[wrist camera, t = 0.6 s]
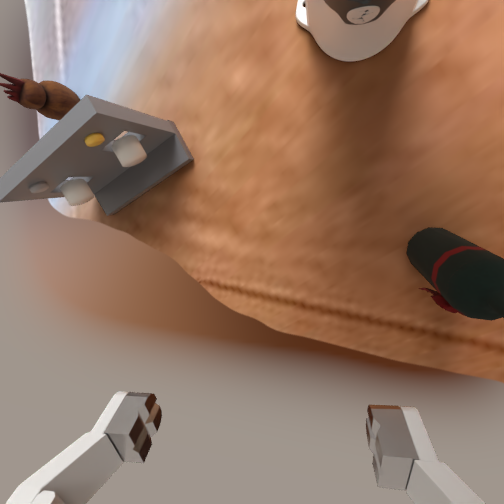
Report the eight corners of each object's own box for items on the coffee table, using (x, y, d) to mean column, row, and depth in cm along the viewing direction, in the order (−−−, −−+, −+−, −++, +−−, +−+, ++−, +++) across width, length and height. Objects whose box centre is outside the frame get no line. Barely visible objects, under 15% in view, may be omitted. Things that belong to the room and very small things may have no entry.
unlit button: (99, 193, 52) (79, 195, 48) (84, 204, 54) (64, 206, 50) (90, 178, 52) (69, 178, 48) (75, 189, 54) (54, 191, 50)
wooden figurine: (74, 82, 57) (-8, 53, 43) (91, 106, 58) (15, 84, 44) (57, 105, 60) (-26, 84, 46) (73, 128, 60) (-4, 114, 46)
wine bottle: (393, 273, 51) (470, 395, 23) (418, 221, 47) (544, 288, 19) (438, 288, 49) (578, 437, 21) (467, 235, 46) (678, 330, 18)
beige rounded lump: (151, 154, 48) (135, 152, 43) (134, 167, 49) (116, 166, 45) (142, 136, 47) (124, 133, 43) (124, 150, 49) (105, 148, 45)
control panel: (193, 159, 55) (118, 151, 35) (113, 214, 63) (17, 232, 44) (173, 121, 54) (85, 92, 35) (94, 183, 63) (-13, 187, 43)
